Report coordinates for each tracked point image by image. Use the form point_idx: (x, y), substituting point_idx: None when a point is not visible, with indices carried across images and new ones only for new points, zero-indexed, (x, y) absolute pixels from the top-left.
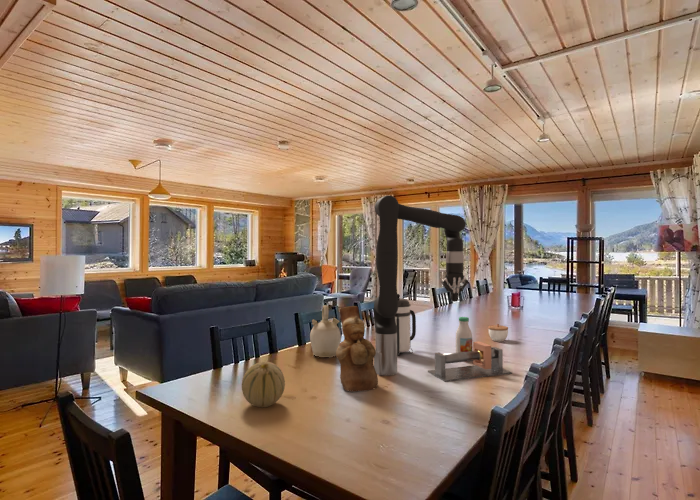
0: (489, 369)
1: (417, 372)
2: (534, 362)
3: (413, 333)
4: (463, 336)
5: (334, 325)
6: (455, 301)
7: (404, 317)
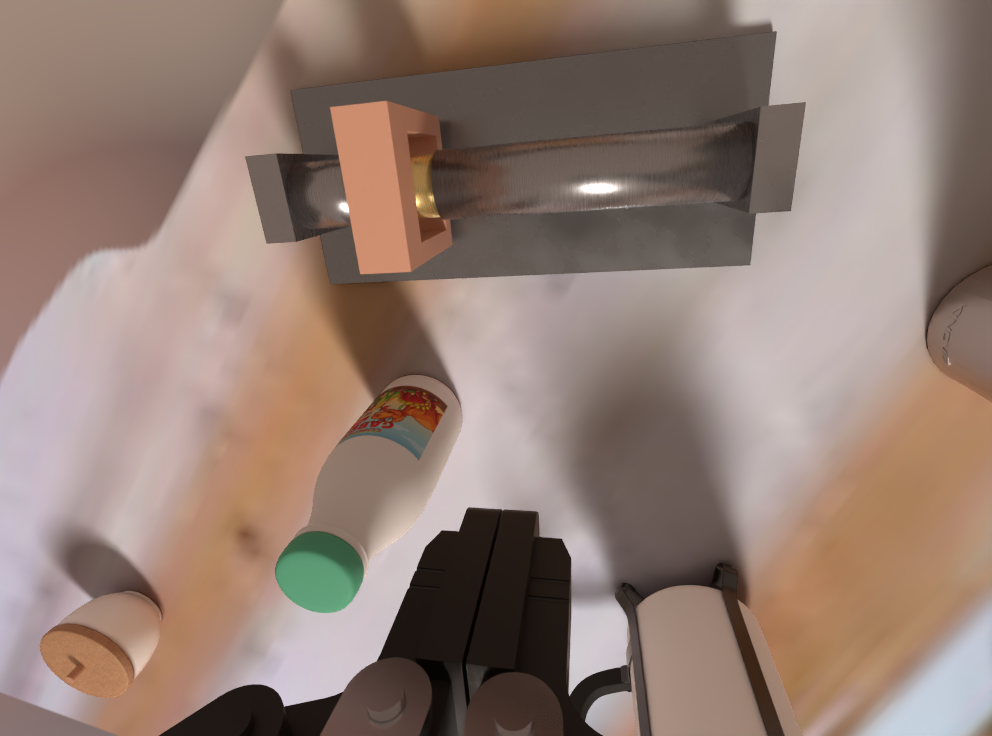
0: None
1: (811, 273)
2: (101, 253)
3: (581, 710)
4: (396, 453)
5: None
6: (506, 512)
7: None
